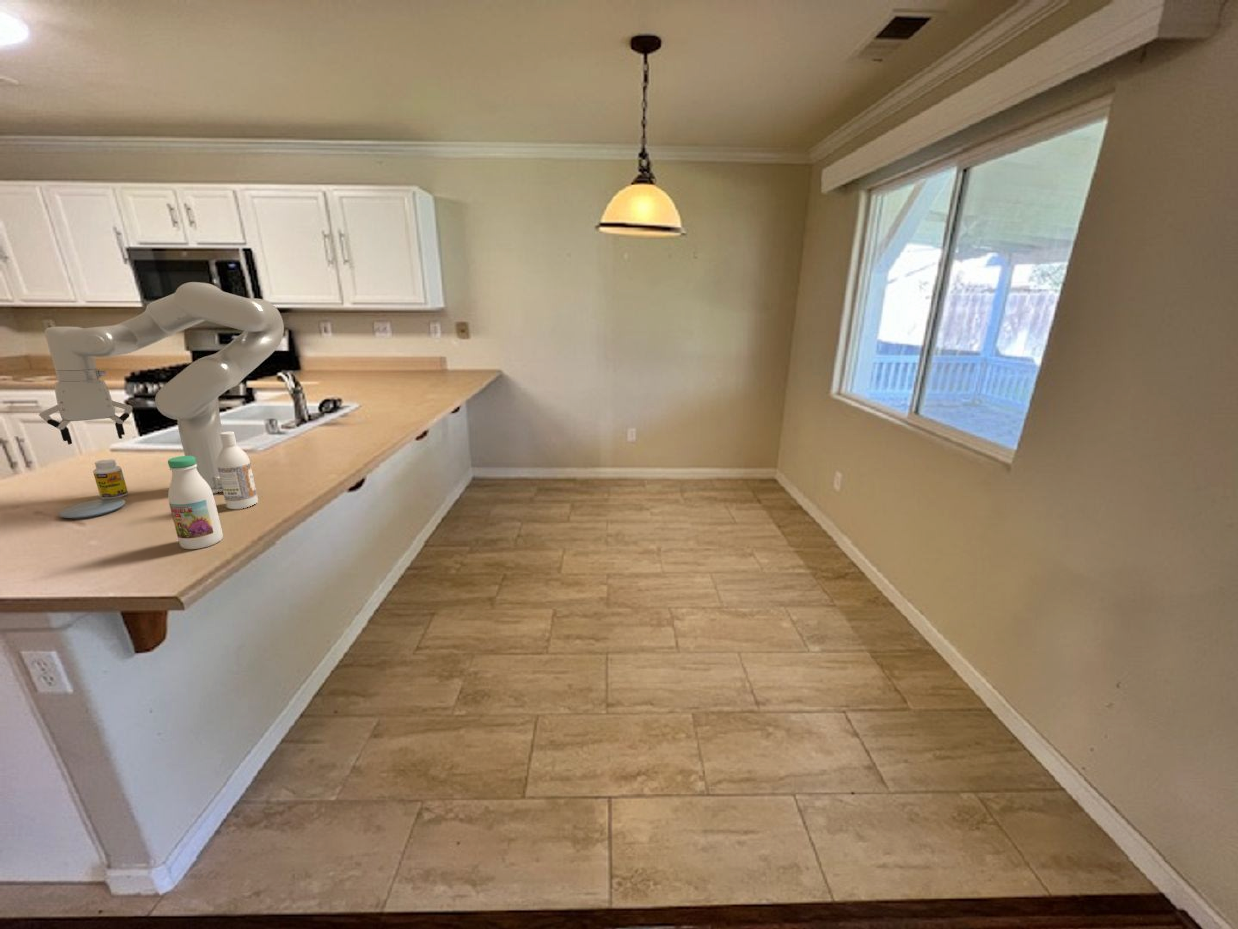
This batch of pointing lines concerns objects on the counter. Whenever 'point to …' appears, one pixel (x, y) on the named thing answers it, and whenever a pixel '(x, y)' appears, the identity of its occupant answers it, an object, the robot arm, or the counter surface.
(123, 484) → the supplement bottle
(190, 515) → the milk bottle
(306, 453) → the counter surface
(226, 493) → the bath foam
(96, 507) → the dish
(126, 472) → the counter surface
